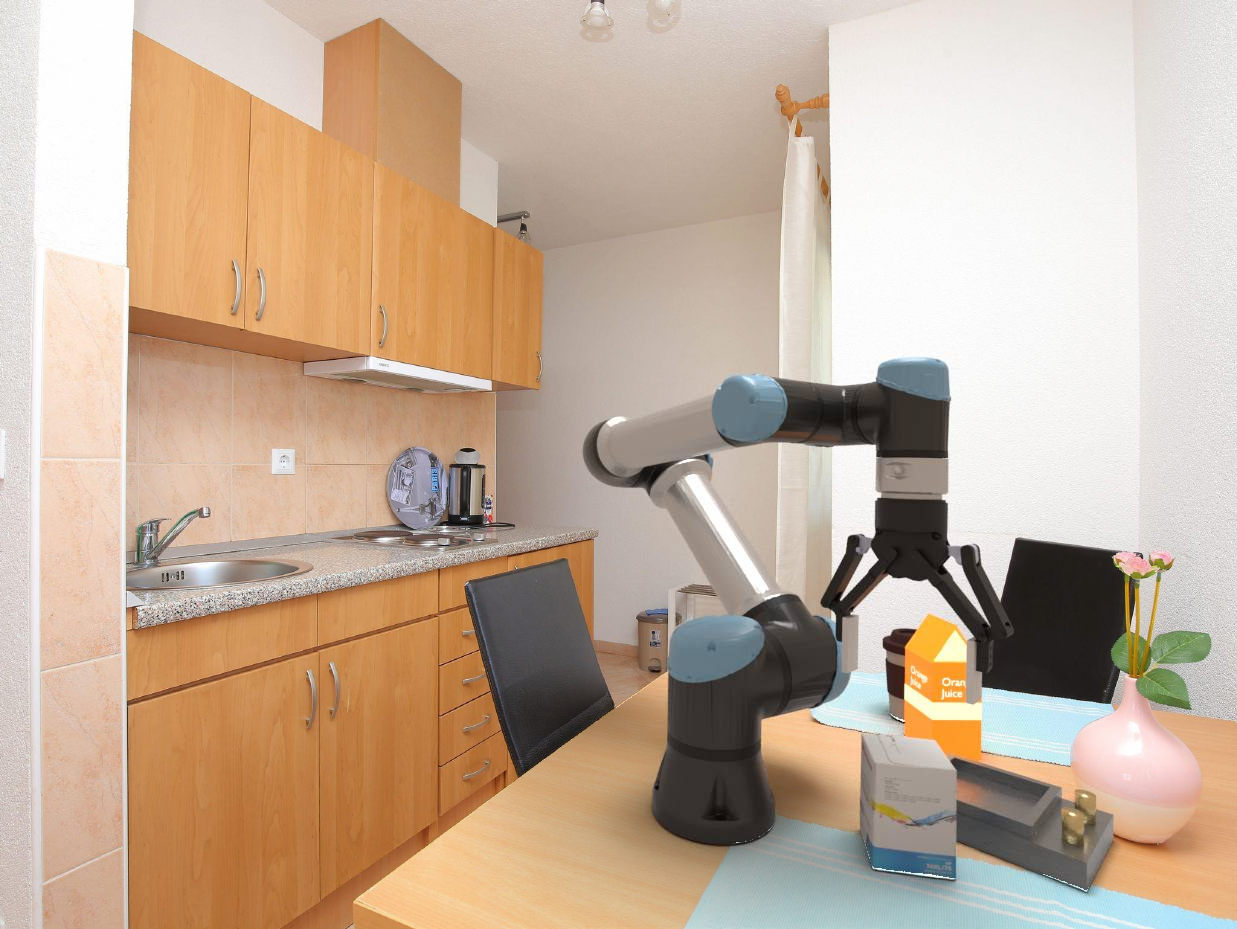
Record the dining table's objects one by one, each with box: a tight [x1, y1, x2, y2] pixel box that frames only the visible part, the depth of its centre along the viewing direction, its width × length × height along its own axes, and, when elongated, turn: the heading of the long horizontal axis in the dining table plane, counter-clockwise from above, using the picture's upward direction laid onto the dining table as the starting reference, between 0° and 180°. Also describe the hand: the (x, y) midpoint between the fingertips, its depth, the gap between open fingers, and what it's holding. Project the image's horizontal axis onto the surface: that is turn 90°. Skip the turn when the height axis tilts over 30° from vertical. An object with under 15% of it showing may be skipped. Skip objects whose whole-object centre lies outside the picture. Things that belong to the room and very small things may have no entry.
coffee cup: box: [882, 627, 918, 720], centre depth 113 cm, size 10×10×15 cm
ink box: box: [859, 733, 957, 879], centre depth 72 cm, size 9×8×12 cm
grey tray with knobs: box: [946, 753, 1114, 890], centre depth 78 cm, size 20×14×6 cm
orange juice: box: [903, 613, 983, 761], centre depth 101 cm, size 8×9×20 cm
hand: (907, 685), depth 73 cm, fingers open, 13 cm apart
